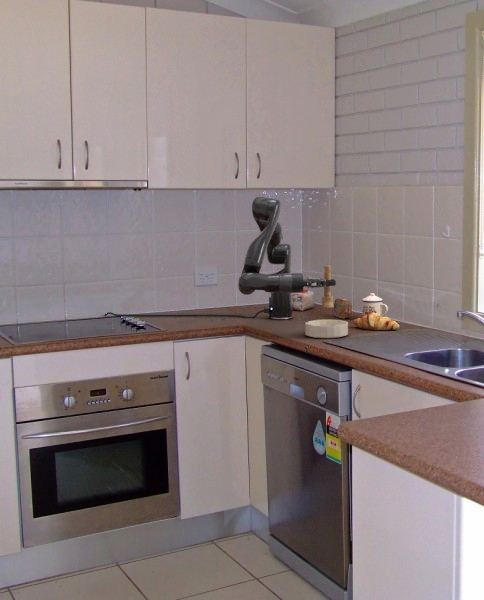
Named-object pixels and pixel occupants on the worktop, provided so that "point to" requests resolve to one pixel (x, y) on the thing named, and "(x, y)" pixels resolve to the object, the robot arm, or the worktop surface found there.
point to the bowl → (326, 328)
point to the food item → (303, 300)
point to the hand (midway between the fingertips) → (334, 282)
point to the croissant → (375, 322)
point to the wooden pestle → (327, 289)
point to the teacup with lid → (373, 305)
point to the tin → (342, 308)
